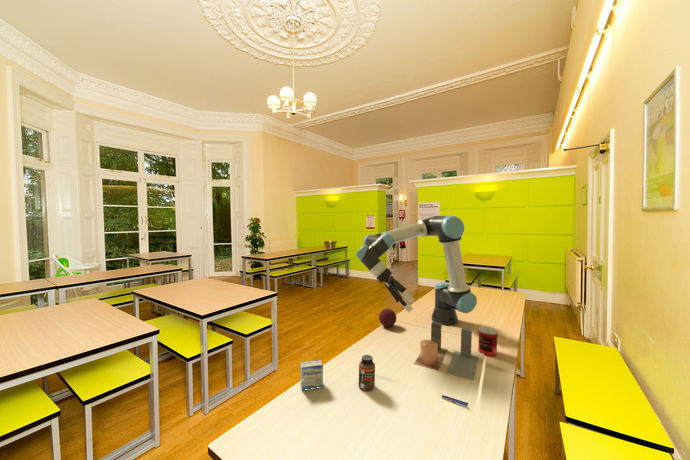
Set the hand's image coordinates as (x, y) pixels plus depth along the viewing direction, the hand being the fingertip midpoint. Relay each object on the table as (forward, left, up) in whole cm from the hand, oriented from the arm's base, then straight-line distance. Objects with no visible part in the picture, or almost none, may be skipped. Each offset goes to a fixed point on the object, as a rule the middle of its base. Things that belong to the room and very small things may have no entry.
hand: (411, 306), depth 133 cm
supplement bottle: (+38, -5, -21) cm, 44 cm away
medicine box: (+48, -23, -21) cm, 57 cm away
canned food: (-14, +32, -21) cm, 40 cm away
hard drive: (+25, +25, -21) cm, 41 cm away
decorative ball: (-19, -20, -21) cm, 35 cm away
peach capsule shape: (+11, +11, -19) cm, 25 cm away
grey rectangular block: (+5, +24, -20) cm, 32 cm away
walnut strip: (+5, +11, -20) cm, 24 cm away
